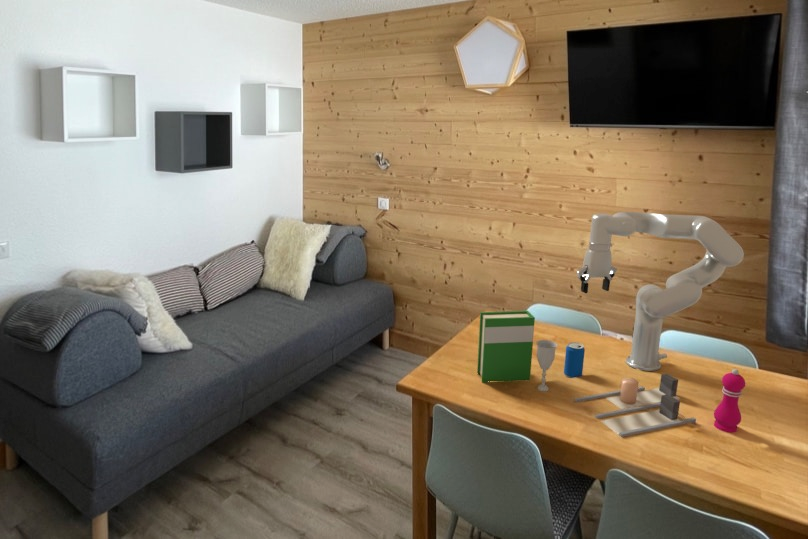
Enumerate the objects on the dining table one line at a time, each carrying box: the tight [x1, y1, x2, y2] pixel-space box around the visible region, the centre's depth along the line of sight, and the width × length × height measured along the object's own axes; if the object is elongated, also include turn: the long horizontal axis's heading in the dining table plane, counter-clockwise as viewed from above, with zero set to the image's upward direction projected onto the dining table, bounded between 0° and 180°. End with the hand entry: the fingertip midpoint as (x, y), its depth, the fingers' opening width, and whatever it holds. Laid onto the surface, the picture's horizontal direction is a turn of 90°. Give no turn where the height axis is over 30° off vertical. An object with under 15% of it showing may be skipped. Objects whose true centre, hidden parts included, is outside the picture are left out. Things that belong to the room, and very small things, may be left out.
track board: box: [573, 385, 697, 438], centre depth 177 cm, size 28×24×2 cm
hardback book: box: [476, 310, 536, 383], centre depth 199 cm, size 18×7×24 cm, turn 97°
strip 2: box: [600, 394, 681, 436], centre depth 170 cm, size 24×8×7 cm, turn 109°
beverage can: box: [563, 341, 586, 379], centre depth 202 cm, size 6×6×12 cm
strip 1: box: [605, 373, 681, 410], centre depth 184 cm, size 24×8×7 cm, turn 109°
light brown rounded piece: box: [619, 377, 639, 404], centre depth 182 cm, size 5×5×7 cm
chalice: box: [536, 339, 558, 392], centre depth 189 cm, size 7×7×18 cm
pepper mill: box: [713, 368, 746, 434], centre depth 166 cm, size 7×7×20 cm
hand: (594, 291), depth 210 cm, fingers open, 9 cm apart
